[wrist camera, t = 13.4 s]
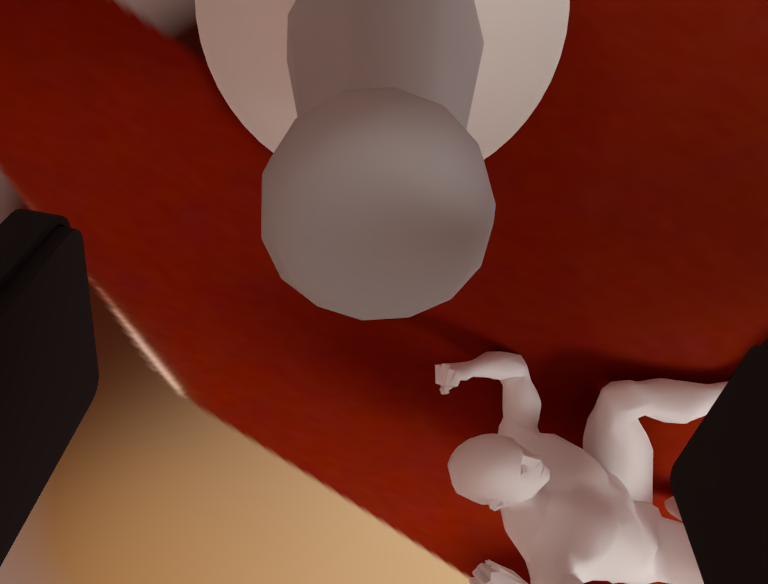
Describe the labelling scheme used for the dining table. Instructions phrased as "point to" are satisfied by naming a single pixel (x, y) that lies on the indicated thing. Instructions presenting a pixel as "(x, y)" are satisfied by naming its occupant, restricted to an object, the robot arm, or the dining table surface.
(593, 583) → the strawberry
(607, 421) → the person figurine
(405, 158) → the salt shaker
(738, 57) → the dining table surface
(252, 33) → the ceramic coaster
